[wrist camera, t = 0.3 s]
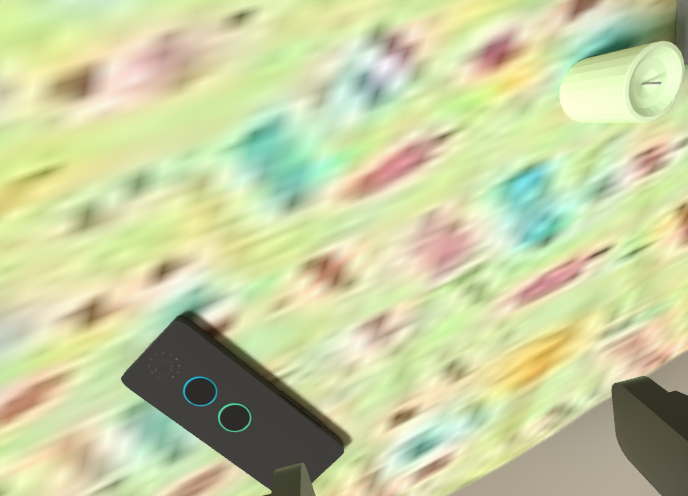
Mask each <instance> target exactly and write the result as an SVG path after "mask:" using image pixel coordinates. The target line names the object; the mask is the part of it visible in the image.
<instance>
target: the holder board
mask: <svg viewBox="0 0 688 496" xmlns="http://www.w3.org/2000/svg"><path fill="white" fill-rule="evenodd" d="M675 45H676V46H677V47H678V49H679V50H680V51H681V54H682V57H683V60H684V64H688V0H677V18H676V36H675Z"/></svg>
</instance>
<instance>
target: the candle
mask: <svg viewBox="0 0 688 496" xmlns="http://www.w3.org/2000/svg"><path fill="white" fill-rule="evenodd" d="M684 72H685V67H684V60H683V57H682V54H681V51H680V50H679V49H678V47H677V46H676V45H674V44H673V43H671V42H669V41H658V42H653V43H649V44H645V45H641V46H636V47H632V48H628V49H624V50H620V51H615V52H611V53H607V54H603V55H598V56H594V57H590V58H586V59H583V60H581V61H579V62H577V63H576V64H574V65H573V66H572V67H571V68H570V69H569V70H568V72H567V73H566V75H565V76H564V78H563V81H562V83H561V87H560V102H561V105H562V108H563V110H564V111H565V112H566V114H567V115H568V116H569V117H571V118H572V119H573V120H576V121H579V122H586V123H625V122H650V121H654V120H656V119H657V118H659V117H661V116H662V115H663V114H664V113H666V112H667V111H668V110H669V109H670V107H671V106H672V105H673V103H674V102H675V100H676V99H677V97H678V95H679V93H680V90H681V87H682V84H683V81H684Z"/></svg>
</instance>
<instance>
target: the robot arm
mask: <svg viewBox="0 0 688 496" xmlns="http://www.w3.org/2000/svg"><path fill="white" fill-rule="evenodd" d="M612 401H613V409H614V421H615V431H616V437H617V440H618V443H619V445H620V447H621V449H622V451H623V453H624V454H625V456H626V457H627V459H628V460H629V461H630V462H631V463H632V464H633V465H634V466H635V467H636V468H637V470H638V471H639V472H640V473H641V474H642V475H643V476H644V477H645V478H646V479H647V480H648V481H649V483H650V484H652V486H653V487H654V488H655V489H656V490H657V491H658V492H659V493H660V494H661V495H662V496H688V395H685V394H682V393H680V392H678V391H673V392H669V393H668V392H667V391H666V390H665V389H663V388H662V387H661V386H659V385H658V384H657V383H655V382H654V381H653V380H651V379H650V378H648V377H646V376H641V377H637V378H633V379H629V380H626V381H622V382H618V383H614V384H613V386H612ZM264 496H315V493H314V490H313V487H312V484H311V481H310V478H309V475H308V472H307V469H306V466H305V464H304V463H299V464H296V465H292V466H288V467H284V468H280V469H276V470H275V471H274V475H273V484H272V493H271V494H268V495H264Z"/></svg>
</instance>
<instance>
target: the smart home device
mask: <svg viewBox="0 0 688 496" xmlns="http://www.w3.org/2000/svg"><path fill="white" fill-rule="evenodd" d="M121 380H122V382H123V383H124V385H125V386H126V387H128V388H129V389H130V390H131V391H133V392H134V393H136V394H137V395H138V396H140V397H141V398H143V399H144V400H145V401H147V402H148V403H150V404H151V405H152V406H154V407H155V408H157V409H158V410H159V411H161V412H162V413H164V414H165V415H166V416H168V417H169V418H171V419H172V420H173V421H175V422H176V423H178V424H179V425H180V426H182V427H183V428H185V429H186V430H187V431H189V432H190V433H192V434H193V435H194V436H196V437H197V438H199V439H200V440H201V441H203V442H204V443H206V444H207V445H208V446H210V447H211V448H213V449H214V450H215V451H217V452H218V453H220V454H221V455H222V456H224V457H225V458H227V459H228V460H229V461H231V462H232V463H234V464H235V465H236V466H238V467H239V468H241V469H242V470H243V471H245V472H246V473H248V474H249V475H250V476H252V477H253V478H255V479H256V480H257V481H259V482H260V483H261V484H263V485H264V486H266V487H267V488H268V489H270V490H271V491H272V484H273V475H274V471H275V470H276V469H280V468H284V467H288V466H292V465H296V464H299V463H304V464H305V466H306V469H307V472H308V475H309V478H310V481H311V483H312V482H313V481H314V480H316V479H317V478H318V477H319V476H320V475H321V474H322V473H323V472H324V471H325V470H326V469H327V468H328V467H330V466H331V465H332V464H333V463H334V462H335V461H336V460H337V459H338V458H339V457H340V456H341V455H342V454H343V453H344V448H343V442H342V440H341V439H340V438H339V437H338V436H337V435H336V434H335V433H334V432H332V431H331V430H330V429H328V428H327V427H326V426H325V425H323V424H322V423H321V421H320V420H318V419H317V418H316V417H314V416H313V415H312V414H311V413H309V412H308V411H307V410H306V409H304V408H303V407H301V406H300V405H299V404H298V403H297V402H295V401H294V400H293V399H292V398H290V397H289V396H288V395H286V394H285V393H284V392H283V391H280V390H279V389H278V388H276V387H275V386H274V385H273V384H271V383H270V382H269V381H267V380H266V379H265V378H264V377H262V376H261V375H260V374H259V373H257V372H256V371H255V370H253V369H252V368H251V367H250V366H248V365H247V364H246V363H245V362H243V361H242V360H241V359H239V358H238V357H237V356H236V355H234V354H233V353H232V352H231V351H229V350H228V349H227V348H225V347H224V346H223V345H222V344H220V343H219V342H218V341H217V340H215V339H214V338H213V337H211V336H210V335H209V334H208V333H206V332H205V331H204V330H203V329H201V328H200V327H199V326H197V325H196V324H195V323H194V322H192V321H191V320H189V319H188V318H186V317H184V316H177V317H176V318H175V319H174V320H173V321H172V322H171V324H170V325H169V326H168V327H167V328H166V329H165V330H164V331H163V332H162V333H161V334H160V335H159V336H158V337H157V338H156V340H155V341H154V342H152V343H151V344H150V345H149V347H148V348H147V349H146V350H145V351H144V352H143V353H142V355H141V356H140V357H139V358H138V359H137V360H136V361H135V362H134V363H133V364H132V365H131V366H130V367H129V368H128V369H127V371H126V372H125V373H124V375H123V376H122V377H121Z"/></svg>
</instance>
